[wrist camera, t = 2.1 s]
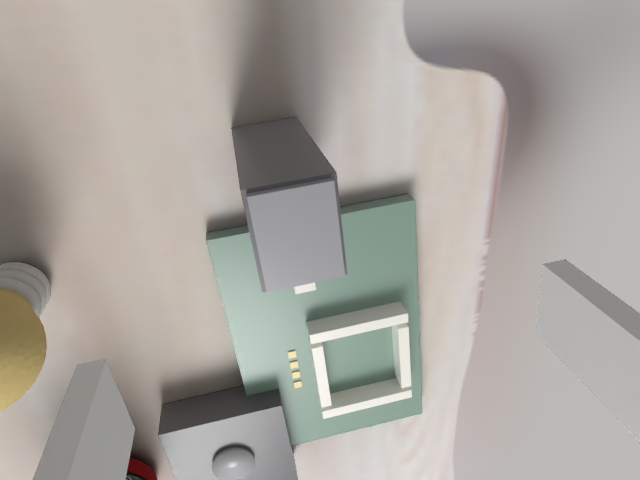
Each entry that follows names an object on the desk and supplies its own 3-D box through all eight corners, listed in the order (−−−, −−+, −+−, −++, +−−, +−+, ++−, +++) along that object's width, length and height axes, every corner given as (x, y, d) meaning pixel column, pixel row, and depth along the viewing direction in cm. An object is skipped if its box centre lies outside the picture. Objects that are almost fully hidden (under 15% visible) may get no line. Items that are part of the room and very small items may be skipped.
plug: (231, 127, 29) (240, 193, 19) (296, 116, 30) (338, 175, 20) (249, 214, 32) (266, 312, 22) (308, 203, 32) (351, 293, 22)
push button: (162, 404, 37) (157, 439, 34) (277, 377, 38) (282, 409, 35) (190, 480, 41) (188, 517, 38) (293, 454, 42) (299, 488, 39)
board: (206, 233, 32) (205, 252, 29) (408, 193, 34) (424, 209, 31) (260, 441, 41) (263, 470, 39) (416, 403, 43) (429, 427, 40)
